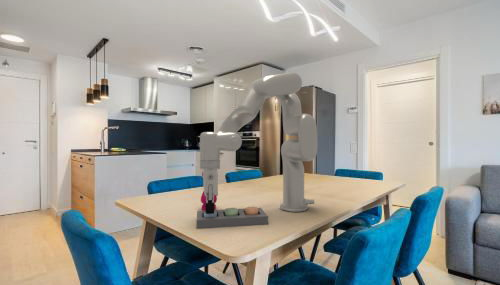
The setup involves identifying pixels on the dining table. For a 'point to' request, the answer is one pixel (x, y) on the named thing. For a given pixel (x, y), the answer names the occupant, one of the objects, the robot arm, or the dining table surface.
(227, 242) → the dining table surface
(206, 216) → the blue button
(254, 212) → the terracotta button
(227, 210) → the sage button
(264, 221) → the button panel
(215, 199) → the pepper mill
